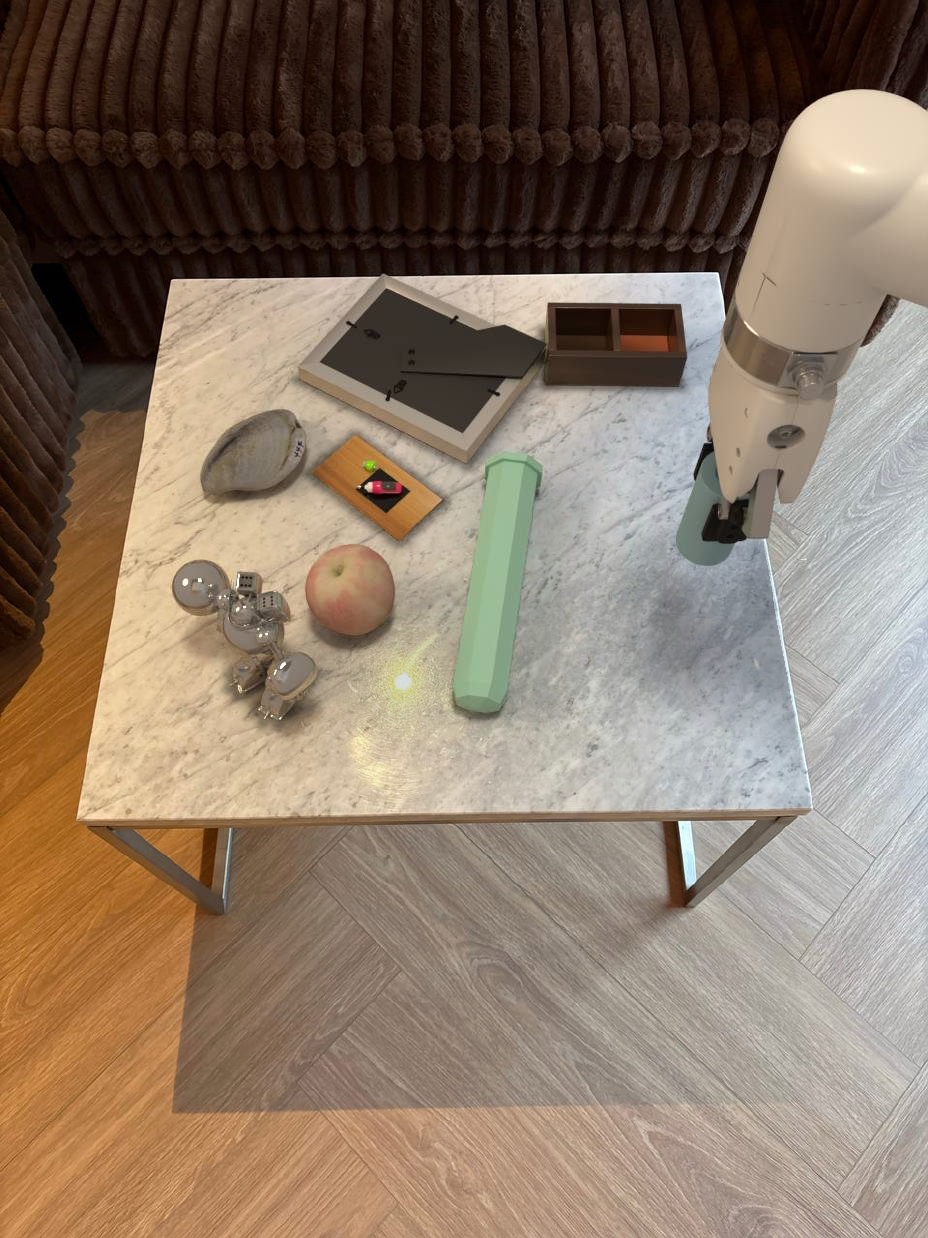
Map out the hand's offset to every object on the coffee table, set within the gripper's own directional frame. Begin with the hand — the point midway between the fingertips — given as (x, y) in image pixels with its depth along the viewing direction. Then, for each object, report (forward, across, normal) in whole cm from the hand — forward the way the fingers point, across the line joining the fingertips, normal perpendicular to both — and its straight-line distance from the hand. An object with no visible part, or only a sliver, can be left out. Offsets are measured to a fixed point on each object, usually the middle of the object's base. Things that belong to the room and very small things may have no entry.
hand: (718, 506), depth 69 cm
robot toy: (+19, -4, +37) cm, 42 cm away
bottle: (+5, 0, 0) cm, 5 cm away
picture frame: (+19, +30, +23) cm, 43 cm away
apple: (+19, +1, +29) cm, 35 cm away
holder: (+19, +32, +3) cm, 37 cm away
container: (+19, +3, +16) cm, 25 cm away
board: (+19, +15, +28) cm, 37 cm away
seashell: (+19, +18, +40) cm, 47 cm away
